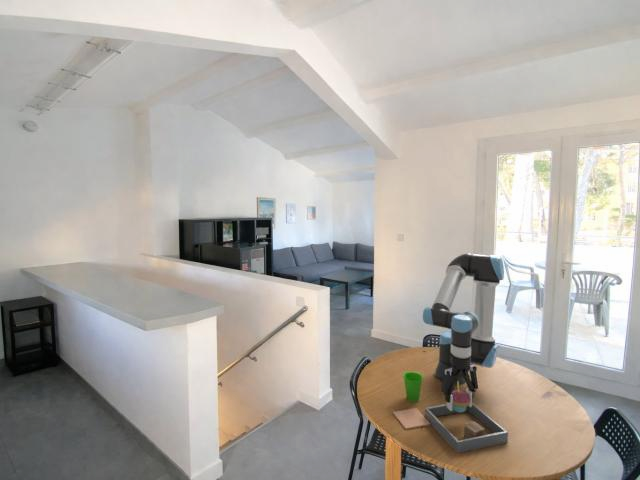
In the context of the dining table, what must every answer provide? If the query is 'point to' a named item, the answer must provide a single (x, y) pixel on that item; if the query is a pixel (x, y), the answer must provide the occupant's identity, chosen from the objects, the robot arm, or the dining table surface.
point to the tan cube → (473, 430)
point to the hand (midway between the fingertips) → (459, 407)
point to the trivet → (411, 418)
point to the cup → (413, 385)
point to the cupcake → (460, 400)
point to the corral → (471, 443)
